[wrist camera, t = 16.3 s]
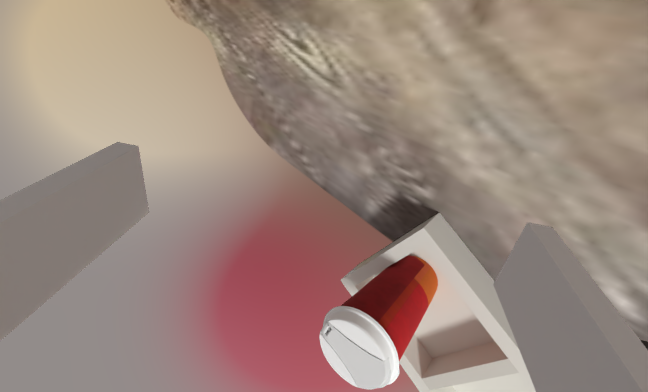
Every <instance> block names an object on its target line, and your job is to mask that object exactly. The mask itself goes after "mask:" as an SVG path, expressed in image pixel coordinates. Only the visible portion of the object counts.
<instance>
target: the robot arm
mask: <svg viewBox="0 0 648 392" xmlns="http://www.w3.org/2000/svg"><path fill="white" fill-rule="evenodd" d="M148 213H149V208H148V202H147V197H146V190H145V184H144V178H143V172H142V166H141V159H140V153H139V147H138V146H135V145H130V144H125V143H120V142H117V143H115V144H112V145H111V146H108V147H106V148H104V149H102V150H100V151H98V152H96V153H94V154H92V155H91V156H88V157H86V158H84V159H82V160H80V161H78V162H76V163H74V164H72V165H70V166H68V167H66V168H64V169H62V170H60V171H58V172H56V173H54V174H52V175H50V176H48V177H46V178H44V179H42V180H40V181H38V182H36V183H34V184H32V185H30V186H28V187H26V188H24V189H22V190H20V191H18V192H16V193H14V194H12V195H10V196H8V197H6V198H4V199H2V200H0V341H1V340H2V339H3V338H4V337H6V336H7V335H8V334H9V333H10V332H11V331H12V330H14V329H15V328H16V327H17V326H18V325H19V324H21V323H22V322H23V321H24V320H25V319H26V318H28V317H29V316H30V315H31V314H32V313H33V312H34V311H36V310H37V309H38V308H39V307H40V306H41V305H43V304H44V303H45V302H46V301H47V300H48V299H49V298H50V297H52V296H53V295H54V294H55V293H56V292H58V291H59V290H60V289H61V288H62V287H63V286H64V285H66V284H67V283H68V282H69V281H70V280H71V279H73V278H74V277H75V276H76V275H77V274H78V273H79V272H81V271H82V270H83V269H84V268H85V267H86V266H88V265H89V264H90V263H91V262H92V261H93V260H95V259H96V258H97V257H98V256H99V255H100V254H102V253H103V252H104V251H105V250H106V249H107V248H108V247H109V246H111V245H112V244H113V243H114V242H115V241H117V240H118V239H119V238H120V237H121V236H122V235H123V234H124V233H126V232H127V231H128V230H129V229H130V228H131V227H133V226H134V225H135V224H136V223H137V222H139V220H141V219H142V218H143V217H144V216H145V215H147V214H148ZM493 285H494V288H495V290H496V293H497V295H498V298H499V300H500V303H501V305H502V308H503V310H504V313H505V315H506V318H507V320H508V323H509V325H510V328H511V330H512V333H513V335H514V338H515V340H516V343H517V345H518V348H519V350H520V353H521V355H522V358H523V360H524V363H525V365H526V368H527V370H528V373H529V375H530V378H531V380H532V383H533V385H534V388H535V390H536V392H648V342H647V341H642V340H640V339H639V338H638V337H637V335H636V334H635V333H634V332H633V330H632V329H631V328H630V326H629V325H628V324H627V323H626V321H625V320H624V319H623V317H622V316H621V315H620V314H619V312H618V311H617V310H616V308H615V307H614V306H613V305H612V303H611V302H610V301H609V299H608V298H607V297H606V296H605V294H604V293H603V292H602V290H601V289H600V288H599V287H598V285H597V284H596V283H595V281H594V280H593V279H592V278H591V276H590V275H589V274H588V272H587V271H586V270H585V269H584V267H583V266H582V265H581V263H580V262H579V261H578V260H577V258H576V257H575V256H574V254H573V253H572V252H571V251H570V249H569V248H568V247H567V245H566V244H565V243H564V242H563V240H562V239H561V238H560V236H559V235H558V234H557V233H556V231H555V230H554V229H553V227H549V226H544V225H539V224H534V223H528V222H527V224H526V226H525V228H524V230H523V231H522V233H521V235H520V237H519V239H518V241H517V242H516V244H515V246H514V248H513V250H512V251H511V253H510V255H509V257H508V259H507V260H506V262H505V264H504V266H503V268H502V269H501V271H500V273H499V275H498V277H497V279H496V280H495V282H494V284H493Z"/></svg>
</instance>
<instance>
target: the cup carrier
mask: <svg viewBox="0 0 648 392" xmlns="http://www.w3.org/2000/svg"><path fill="white" fill-rule="evenodd" d="M406 256H416V257H419V258H421V259H423V260H424V261H426V262H427V263H428V264H429V265H430V266H431V267H432V268H433V270H434V271H435V273H436V275H437V279H438V287H437V290H436V293H435V295H434V297H433V299H432V301H431V303H430V305H429V307H428V309H427V311H426V313H425V314H424V316H423V318H422V320H421V322H420V324H419V326H418V328H417V329H416V331H415V333H414V335H413V337H412V339H411V341H410V343H409V344H408V346H407V348H406V350H405V352H404V354H403V356H402V357H401V359H400V361H399V363H400V364H401V366H402V367H403V369H404V370H405V371H406V373H407V374H408V376H409V377H410V378H411V380H412V381H413V383H414V384H415V386H416V387H417V388H418V390H419V391H420V392H536V390H535V388H534V385H533V383H532V380H531V378H530V375H529V373H528V370H527V368H526V365H525V363H524V360H523V358H522V355H521V353H520V350H519V348H518V345H517V343H516V340H515V338H514V335H513V333H512V330H511V328H510V325H509V323H508V320H507V318H506V315H505V313H504V310H503V308H502V305H501V303H500V300H499V298H498V295H497V293H496V290H495V288H494V285H493V284H494V282H495V281H494V280H493V279H492V278H491V276H490V275H489V274H488V273H487V271H486V270H485V269H484V268H483V266H482V265H481V264H480V263H479V261H478V260H477V259H476V258H475V256H474V255H473V254H472V253H471V251H470V250H469V249H468V248H467V246H466V245H465V244H464V243H463V241H462V240H461V239H460V238H459V236H458V235H457V234H456V233H455V231H454V230H453V229H452V228H451V226H450V225H449V224H448V223H447V221H446V220H445V219H444V218H443V216H442V215H441V214H440V213H438V214H436V215H434V216H433V217H431V218H430V219H428V220H427V221H425V222H424V223H422V224H420V225H419V226H417V227H416V228H414V229H413V230H411V231H410V232H408V233H406V234H405V235H403V236H402V237H400V238H399V239H397V240H396V241H394V242H392V243H391V244H389V245H388V246H386V247H385V248H383V249H382V250H380V251H379V252H377V253H376V254H374V255H373V256H371V257H369V258H368V259H366V260H365V261H363V262H361V263H360V264H359V265H357V266H356V267H355V268H354V269H353V270H352V271H350V272H349V273H348V274H347V275H346V276H345V277H344V278H342V279H341V282H342V283H343V284H344V286H345V287H346V289H347V290H348V291H349V293H350V294H351V295H352V296H353V295H354V294H356V293H357V292H358V291H359V290H360V289H362V288H363V287H364V286H365V285H366V284H367V283H369V282H370V281H371V280H372V279H373V278H375V277H376V276H377V275H378V274H380V273H381V272H382V271H383V270H384V269H386V268H387V267H388V266H390V265H392V264H394V263H395V262H397V261H399V260H401V259H402V258H404V257H406Z"/></svg>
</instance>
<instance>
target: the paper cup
mask: <svg viewBox="0 0 648 392" xmlns="http://www.w3.org/2000/svg"><path fill="white" fill-rule="evenodd" d="M437 287H438V279H437V275H436V273H435V271H434V270H433V268H432V267H431V266H430V265H429V264H428V263H427V262H426V261H424V260H423V259H421V258H419V257H416V256H406V257H404V258H402V259H401V260H399V261H397V262H395V263H394V264H392V265H390V266H388V267H387V268H386V269H384V270H383V271H382V272H381V273H380V274H378V275H377V276H376V277H375V278H373V279H372V280H371V281H370V282H369V283H367V284H366V285H365V286H364V287H363V288H362V289H360V290H359V291H358V292H357V293H356V294H354V295H353V296H352V297H351V298H350V299H349V300H347V301H346V302H345V303H344V304H342V305H341V306H339V307H335V308H333V309H331V310H330V311H329V312H328V313H327V314H326V317H325V319H324V323H323V328H322V330H321V332H320V344H321V348H322V351H323V353H324V355H325V357H326V359H327V361H328V362H329V364H330V365H331V366H332V367H333V369H334V370H335V371H336V372H337V373H338V374H339V375H340V376H341V377H342V378H343V379H344V380H346V381H347V382H349V383H350V384H352V385H354V386H356V387H358V388H363V389H375V388H382V387H384V386H386V385H387V384H391V383H393V382H394V381H395V380H396V379H397V377H398V375H399V361H400V359H401V357H402V356H403V354H404V352H405V350H406V348H407V346H408V344H409V343H410V341H411V339H412V337H413V335H414V333H415V331H416V329H417V328H418V326H419V324H420V322H421V320H422V318H423V316H424V314H425V313H426V311H427V309H428V307H429V305H430V303H431V301H432V299H433V297H434V295H435V293H436V290H437Z"/></svg>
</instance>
